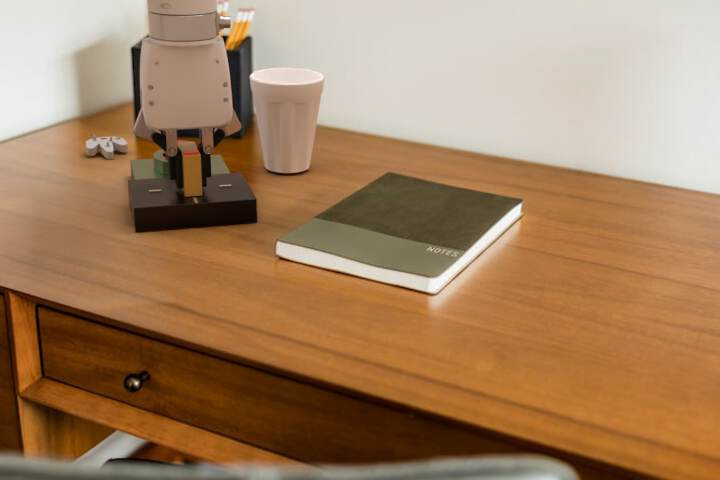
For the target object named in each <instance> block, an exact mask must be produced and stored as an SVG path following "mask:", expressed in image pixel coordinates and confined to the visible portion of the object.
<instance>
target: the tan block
mask: <svg viewBox="0 0 720 480" xmlns="http://www.w3.org/2000/svg"><path fill="white" fill-rule="evenodd" d="M178 148H179V150H180V153H181V156H182V166H183V187H182V189H183V192H184V195H185V197H190V196H202V174H201V155H200V153H199V150H198V145H197V144H196V142H195V141H190V142H178Z"/></svg>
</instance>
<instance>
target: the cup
mask: <svg viewBox="0 0 720 480" xmlns="http://www.w3.org/2000/svg"><path fill="white" fill-rule="evenodd" d="M249 84H250V90H251V92H252V97H253V103H254V109H255V116H256V121H257V128H258V135H259V141H260V146H261V153H262V159H263V160H262V161H263V166H264V168H265V169H266V170H268V171H270V172H273V173H279V174H296V173H301V172H305V171H307V170H309V169H310V167H311V162H312V156H313V148H314V143H315V136H316V131H317V123H318V118H319V112H320V106H321V105H320V104H321V98H322V93H323V92H324V86H325V76H324V75H323V74H322V73H321V72H320V71H315V70H313V69H307V68H300V67H298V68H297V67H272V68H263V69H260V70H255V71H253V72H252V73H251V74H250V75H249Z"/></svg>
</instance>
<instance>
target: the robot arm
mask: <svg viewBox="0 0 720 480" xmlns="http://www.w3.org/2000/svg"><path fill="white" fill-rule="evenodd" d="M146 2H147V3H146V4H147V18H148V21H147V22H148V35H149V36H148V37H144V38H142V42H141V47H140V57H139V96H140V99H139V100H140V110H139V112H138V115H137V118H136V120H135V123H134V125H133V129H132V130H133V133H134V135H135V136H136V137H138V138H141V139H144V140H147V141H151V142H153V143H155V145H157V146H158V147H159V148H160V149H163V150H164V151H165V152H166V153H167V154H168V165H169V178H170V180H175V183H176V186H177V189H182V187H183V166H182V156H181V153H180V150H179V148H178V146H177V140H178V131H179V130H181V131H182V130H197V129H198V131H199V132H198V133H199V143H198V145H197V148H198V150H199V153H200V155H201V174H202V187H207V179H206V178H208V177H211V155H212V153H213V152H214V150H215V149H216V147H217V146H218V145H219V144H220V143H221V142H222V141H223V140H224V139H225V138H226V137H229V136H231V135H233V134H235V133H238V132H239V131H241V130H242V124H241V122H240V120H239V118H238V115H237V113H236V111H235V109H234V107H233V94H232V83H231V73H230V66H229V61H228V53H227V48H226V45H225V41H224V38H223V37H222V36H220V32H221V31H222V30H224V29H230V28H231V25H232V24H231V23H232V22H231V16H230V15H223V14H220V13H219V11H218V1H217V0H146ZM162 131H163V132H162Z"/></svg>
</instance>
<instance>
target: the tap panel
mask: <svg viewBox="0 0 720 480" xmlns="http://www.w3.org/2000/svg"><path fill="white" fill-rule="evenodd" d="M206 179H207V187H202V196H190V197H185V195H184V192H183V189H177V186H176V183H175V180H170V178H169V177H166V178H151V179H137V180H132V179H127V191H128V204H129V209H130V212H131V218H132V222H133V228H134V232H135V233H147V232H160V231H170V230H183V229H194V228H207V227H217V226H229V225H230V226H231V225H241V224H242V225H243V224H255V223H258V199H257V197H256V195H255V194H254V192H253V190H252V188H251V187H250V185H249V183H248V182H247V180H246V178H245V176H244V175H243V173H242V172H230V173H226V174H211V177H208V178H206Z"/></svg>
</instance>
